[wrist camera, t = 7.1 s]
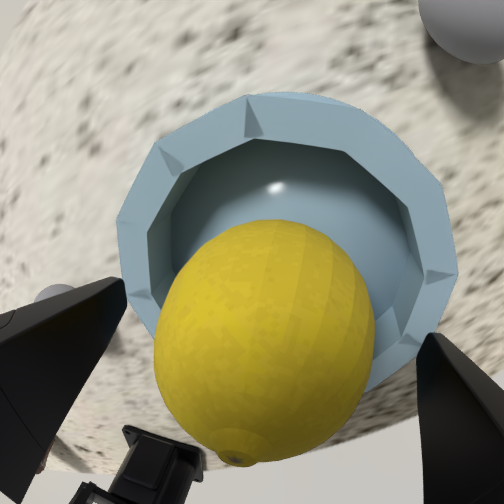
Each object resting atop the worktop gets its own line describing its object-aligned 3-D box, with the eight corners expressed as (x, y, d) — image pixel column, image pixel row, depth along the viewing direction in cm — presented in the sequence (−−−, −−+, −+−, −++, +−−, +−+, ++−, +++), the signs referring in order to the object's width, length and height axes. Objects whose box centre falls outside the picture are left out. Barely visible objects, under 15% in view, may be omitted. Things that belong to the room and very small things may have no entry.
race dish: (385, 377, 14) (391, 420, 12) (156, 336, 16) (133, 372, 14) (465, 130, 9) (502, 139, 7) (148, 87, 11) (107, 86, 8)
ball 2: (487, 80, 8) (539, 78, 5) (404, 52, 9) (438, 32, 6) (488, 4, 7) (533, -18, 3) (407, -27, 7) (434, -66, 4)
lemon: (384, 226, 11) (462, 418, 4) (318, 339, 13) (303, 521, 6) (237, 164, 11) (92, 286, 4) (195, 290, 13) (100, 453, 6)
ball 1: (108, 331, 17) (76, 371, 14) (64, 316, 17) (30, 349, 14) (97, 279, 15) (57, 317, 12) (51, 267, 16) (11, 298, 13)
